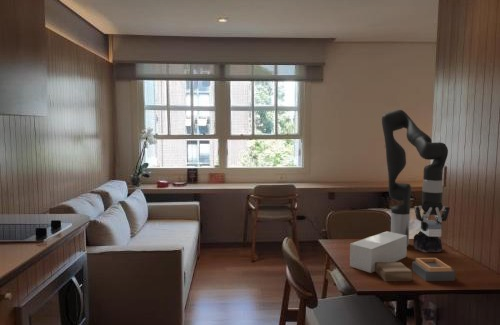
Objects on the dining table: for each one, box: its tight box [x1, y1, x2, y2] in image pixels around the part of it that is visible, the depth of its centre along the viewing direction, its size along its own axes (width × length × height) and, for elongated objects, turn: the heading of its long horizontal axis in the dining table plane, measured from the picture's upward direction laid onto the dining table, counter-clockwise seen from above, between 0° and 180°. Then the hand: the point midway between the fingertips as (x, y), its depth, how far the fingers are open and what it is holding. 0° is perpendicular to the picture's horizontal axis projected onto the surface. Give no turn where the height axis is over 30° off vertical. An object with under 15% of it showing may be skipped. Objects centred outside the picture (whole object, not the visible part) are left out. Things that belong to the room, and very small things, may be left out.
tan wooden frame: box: [411, 257, 456, 282], centre depth 157 cm, size 12×12×6 cm
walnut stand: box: [374, 261, 413, 282], centre depth 157 cm, size 11×11×4 cm
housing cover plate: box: [426, 219, 443, 230], centre depth 156 cm, size 5×8×2 cm, turn 177°
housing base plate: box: [420, 228, 442, 238], centre depth 156 cm, size 5×8×3 cm, turn 177°
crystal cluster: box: [413, 230, 443, 253], centre depth 193 cm, size 14×14×10 cm
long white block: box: [349, 230, 408, 274], centre depth 175 cm, size 32×11×11 cm, turn 131°
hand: (430, 230), depth 156 cm, fingers closed on housing base plate, housing cover plate, 5 cm apart
